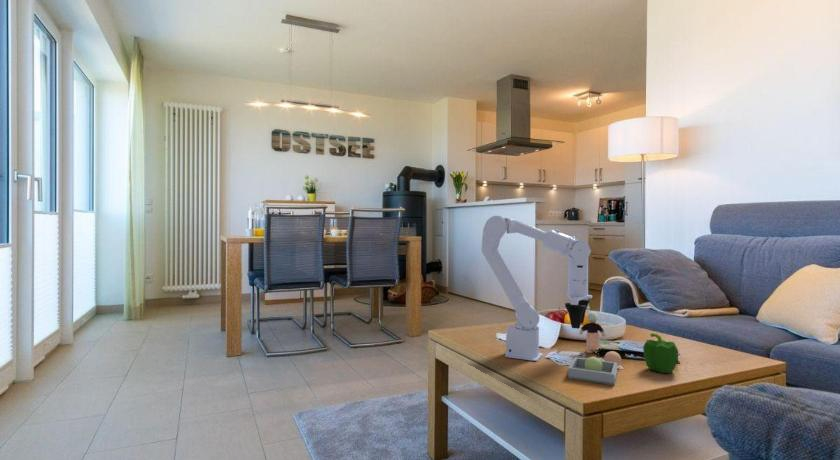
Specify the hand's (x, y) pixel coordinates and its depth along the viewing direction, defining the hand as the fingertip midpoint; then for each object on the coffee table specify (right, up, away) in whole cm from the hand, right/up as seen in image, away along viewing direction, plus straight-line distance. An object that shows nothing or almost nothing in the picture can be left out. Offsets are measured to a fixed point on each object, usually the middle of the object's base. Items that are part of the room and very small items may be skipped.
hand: (577, 325), depth 135 cm
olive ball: (-1, -9, -16) cm, 18 cm away
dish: (-1, -10, -16) cm, 19 cm away
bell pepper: (+19, -10, -11) cm, 24 cm away
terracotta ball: (+7, -10, -8) cm, 15 cm away
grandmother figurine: (+7, -10, +8) cm, 15 cm away
